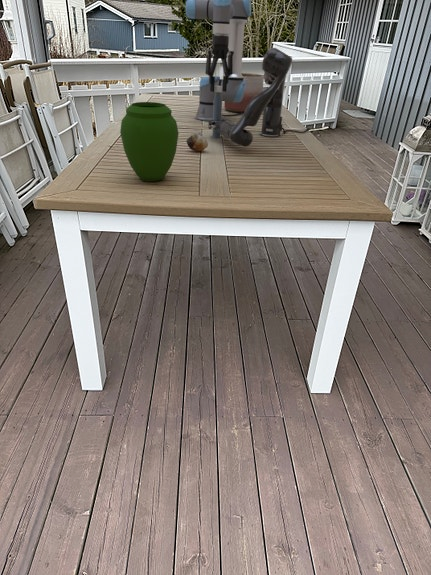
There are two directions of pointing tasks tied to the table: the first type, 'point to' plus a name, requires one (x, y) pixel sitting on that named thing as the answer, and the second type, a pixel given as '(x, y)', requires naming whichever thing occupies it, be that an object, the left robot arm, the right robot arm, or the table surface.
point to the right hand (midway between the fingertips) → (215, 122)
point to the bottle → (217, 112)
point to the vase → (149, 139)
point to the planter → (247, 92)
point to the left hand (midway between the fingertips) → (218, 91)
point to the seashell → (197, 142)
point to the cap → (218, 88)
